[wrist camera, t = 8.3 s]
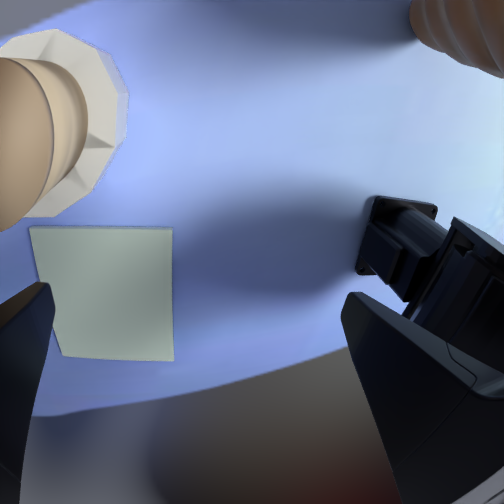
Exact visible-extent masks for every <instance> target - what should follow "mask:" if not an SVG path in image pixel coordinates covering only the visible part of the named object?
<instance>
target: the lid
mask: <svg viewBox="0 0 504 504" xmlns="http://www.w3.org/2000/svg"><path fill="white" fill-rule="evenodd" d="M87 131H88V110H87V104H86V100H85V97H84V94H83V92H82V89H81V87H80V85H79V84H78V82H77V81H76V79H75V78H74V77H73V76H72V74H70V73H69V72H68V71H67V70H66V69H65V68H63V67H61V66H60V65H58V64H55V63H53V62H49V61H44V60H34V59H22V58H7V57H0V232H1V231H4V230H6V229H8V228H10V227H11V226H13V225H14V224H16V223H17V222H18V221H19V220H20V219H21V218H23V217H24V216H25V215H26V214H27V213H28V212H29V211H30V210H31V209H32V208H33V207H34V206H35V205H36V204H37V203H38V202H39V201H40V200H41V199H42V198H43V197H44V196H45V195H46V194H47V193H48V192H49V191H50V190H51V189H52V188H54V187H55V186H56V185H57V184H58V183H59V182H60V181H61V180H62V179H64V178H65V177H66V176H67V175H68V173H69V172H70V171H71V170H72V169H73V167H74V166H75V164H76V163H77V161H78V159H79V157H80V155H81V153H82V151H83V148H84V144H85V141H86V136H87Z"/></svg>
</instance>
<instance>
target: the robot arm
mask: <svg viewBox="0 0 504 504" xmlns="http://www.w3.org/2000/svg"><path fill="white" fill-rule="evenodd" d="M381 202H382V204H381V205H380V203H381ZM432 209H433V210H432ZM437 211H438V208H437V206H435V205H434V204H431V203H425V202H419V201H412V200H406V199H399V198H392V197H385V196H379V197H377V198H376V199H375V201H374V204H373V208H372V212H371V215H370V219H369V222H368V225H367V228H366V232H365V235H364V238H363V242H362V245H361V248H360V252H359V256H358V259H357V262H356V265H355V272H356V273H357V274H358V275H378V277H379V278H380V279H381V280H382V281H383V282H384V283H385V284H386V285H389V286H390V287H391V289H392V290H393V291H394V292H395V293H396V294H397V296H398V297H399V298H400V299H401V300H402V301H403V302H409V303H408V305H407V307H406V308H405V310H404V312H403V313H402V315H400V314H398V313H397V312H395V311H393V310H392V309H390V308H388V307H387V306H385V305H383V304H381V303H380V302H378V301H376V300H375V299H373V298H371V297H369V296H368V295H366V294H364V293H363V292H350V293H349V294H348V295H347V298H346V300H345V303H344V306H343V309H342V311H341V322H342V325H343V329H344V333H345V336H346V340H347V344H348V347H349V351H350V354H351V358H352V361H353V363H354V366H355V369H356V371H357V374H358V377H359V379H360V382H361V384H362V387H363V390H364V392H365V395H366V398H367V401H368V403H369V406H370V409H371V411H372V414H373V417H374V419H375V422H376V425H377V428H378V431H379V434H380V436H381V439H382V442H383V445H384V448H385V451H386V454H387V457H388V460H389V463H390V466H391V469H392V471H393V476H394V479H395V482H396V485H397V488H398V491H399V494H400V497H401V501H402V504H504V245H503V244H501V243H500V242H499V241H497V240H496V239H494V238H493V237H491V236H490V235H488V234H487V233H485V232H483V231H482V230H480V229H478V228H476V227H474V226H472V225H470V224H468V223H466V222H464V221H462V220H460V219H458V218H456V217H453V219H452V222H451V227H450V229H449V231H448V230H446V229H445V228H443V227H442V226H441V225H439V224H438V223H436V222H435V218H436V215H437ZM362 267H363V268H362ZM361 268H362V269H361ZM360 269H361V270H360ZM55 311H56V307H55V302H54V298H53V294H52V290H51V286H50V284H49V283H48V282H35V283H33V284H32V285H30V286H29V287H27V288H25V289H24V290H22V291H21V292H19V293H18V294H16V295H14V296H13V297H11V298H10V299H8V300H7V301H5V302H4V303H2V304H1V305H0V504H19V500H20V488H21V476H22V468H23V461H24V454H25V447H26V441H27V436H28V430H29V425H30V420H31V415H32V411H33V406H34V402H35V398H36V393H37V389H38V385H39V382H40V378H41V374H42V370H43V367H44V363H45V360H46V356H47V351H48V346H49V341H50V335H51V331H52V326H53V321H54V317H55Z"/></svg>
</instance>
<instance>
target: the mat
mask: <svg viewBox="0 0 504 504" xmlns="http://www.w3.org/2000/svg"><path fill="white" fill-rule="evenodd" d="M29 230H30V236H31V241H32V247H33V252H34V257H35V261H36V266H37V270H38V275H39V279H40V282H48V283H49V284H50V286H51V290H52V294H53V298H54V302H55V307H56V311H55V317H54V321H53V328H54V331H55V334H56V337H57V340H58V343H59V346H60V349H61V352H62V354H63V356H68V357H80V358H93V359H110V360H133V361H174V345H173V314H172V232H173V227H126V226H31V227H30V228H29Z"/></svg>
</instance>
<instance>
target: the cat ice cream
mask: <svg viewBox="0 0 504 504" xmlns="http://www.w3.org/2000/svg"><path fill="white" fill-rule="evenodd" d="M409 20H410V24H411V27H412V29H413V31H414V33H415V35H416V36H417V38H418V39H419V40H420V41H421V42H422V43H423V44H425V45H426V46H428V47H430V48H432V49H434V50H437V51H439V52H443V53H446V54H447V55H448V56H450V57H451V58H453V59H454V60H456V61H457V62H459V63H461V64H464V65H467V66H471V67H475V68H479V69H480V70H482V71H484V72H487V73H489V74H491V75H493V76H496V77H499V78H503V79H504V0H412V2H411V5H410V8H409Z"/></svg>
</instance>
